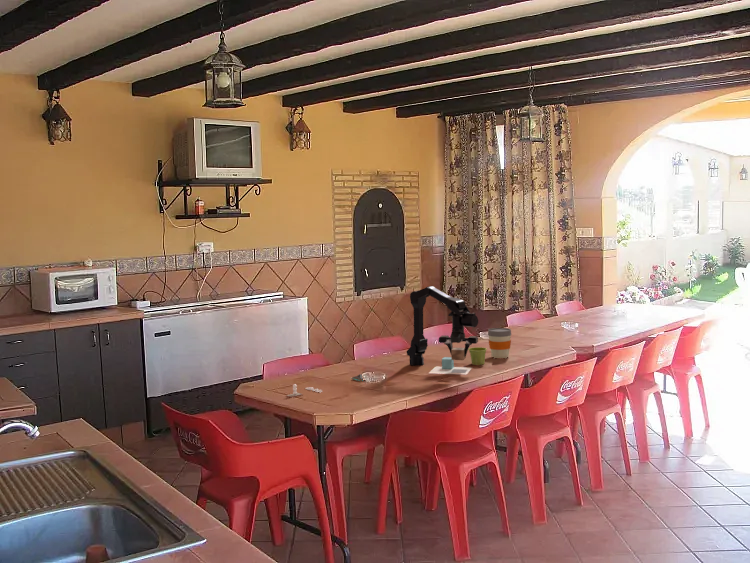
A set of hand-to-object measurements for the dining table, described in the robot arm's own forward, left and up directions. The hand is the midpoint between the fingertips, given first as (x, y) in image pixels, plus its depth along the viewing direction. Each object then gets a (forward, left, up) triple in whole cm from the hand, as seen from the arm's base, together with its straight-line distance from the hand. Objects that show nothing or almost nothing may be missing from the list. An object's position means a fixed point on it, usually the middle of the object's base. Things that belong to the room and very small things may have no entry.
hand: (458, 356), depth 376 cm
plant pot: (+6, +19, -8) cm, 22 cm away
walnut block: (0, 0, -1) cm, 1 cm away
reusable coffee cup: (+14, +42, -8) cm, 45 cm away
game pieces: (-55, -39, -9) cm, 68 cm away
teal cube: (-7, +6, -7) cm, 12 cm away
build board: (-4, +1, -8) cm, 9 cm away
